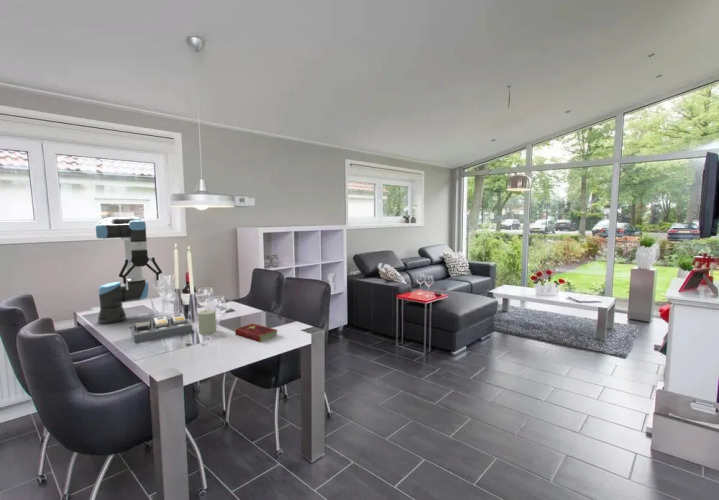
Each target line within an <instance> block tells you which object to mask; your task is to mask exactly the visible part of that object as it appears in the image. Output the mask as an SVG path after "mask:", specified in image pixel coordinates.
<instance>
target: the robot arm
mask: <svg viewBox="0 0 719 500" xmlns="http://www.w3.org/2000/svg"><path fill="white" fill-rule="evenodd" d="M95 235H96V238H97V239H98V240H99V239H100V240H101V239H103V240H106V239H121V240H122V241H123V243H124V244H123V245H124V246H123V247H124V255H125V259H124V264H123V265H122V268H121V269H120V272H119V274H118V277H119V278H122V282H123V283H121V281H116V282H115V281H113V282H108V283H106V284H102V285H100V286H99V288H98V297H99V308H100V310H99V313H98V315H97V323H99V324H112V323H118V322H122V321H124V320H126V319H127V313H126V311H125V310H124V306H123V303H128V302H135V301H137V302H138V301H141V300H142V301H143V300H146V299H147V298H148V295H149V281H146V278H144V277H143V268H142V267H147V268H148V269H150V271H152V273H154V274H153V276H154V280H153V281H154V287H155V288H157V287H158V281H159V279H160V277H159V276H160V275H161V274H162V273H163V271H162V269H161V268H160V267H159V265H158V264H157V262H156V260H155V259H156V258H155V257H154V256H152V257H149V256H148V255H149V254H148V243H147V242H148V241H147V226H146V221H144V220H142V218H140V217H137V216H124V217H123V216H122V217H121V216H119V217H113V216H112V217H108V218H104V219H102V220H100V221H99V222H97V224H96V225H95ZM149 261H150V262H152V264H153V265H154V267H155V268H156V269H154V268H153V267H152V265H150V264H149V263H148V262H149Z"/></svg>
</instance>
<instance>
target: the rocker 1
mask: <svg viewBox="0 0 719 500" xmlns="http://www.w3.org/2000/svg"><path fill="white" fill-rule="evenodd" d="M150 322H151V321H143V322H138V323H135V325H136V327H139V326H145V325H150Z"/></svg>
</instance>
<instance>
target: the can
mask: <svg viewBox="0 0 719 500" xmlns="http://www.w3.org/2000/svg"><path fill="white" fill-rule="evenodd" d="M211 310H212V311H211ZM197 314H198V315H197V317H198V334H199V335H204V336H205V335H212V334H215V333H216V332H217V321H216V320H217V319H216V318H217V317H216V310H214V309H206V310H201V311H198V313H197Z"/></svg>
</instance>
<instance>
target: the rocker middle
mask: <svg viewBox="0 0 719 500" xmlns="http://www.w3.org/2000/svg"><path fill="white" fill-rule="evenodd" d="M167 319H168V318H167V316H158V317H153V321H154V323H155V325H156V327H157V326H163V325H168V321H167Z"/></svg>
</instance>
